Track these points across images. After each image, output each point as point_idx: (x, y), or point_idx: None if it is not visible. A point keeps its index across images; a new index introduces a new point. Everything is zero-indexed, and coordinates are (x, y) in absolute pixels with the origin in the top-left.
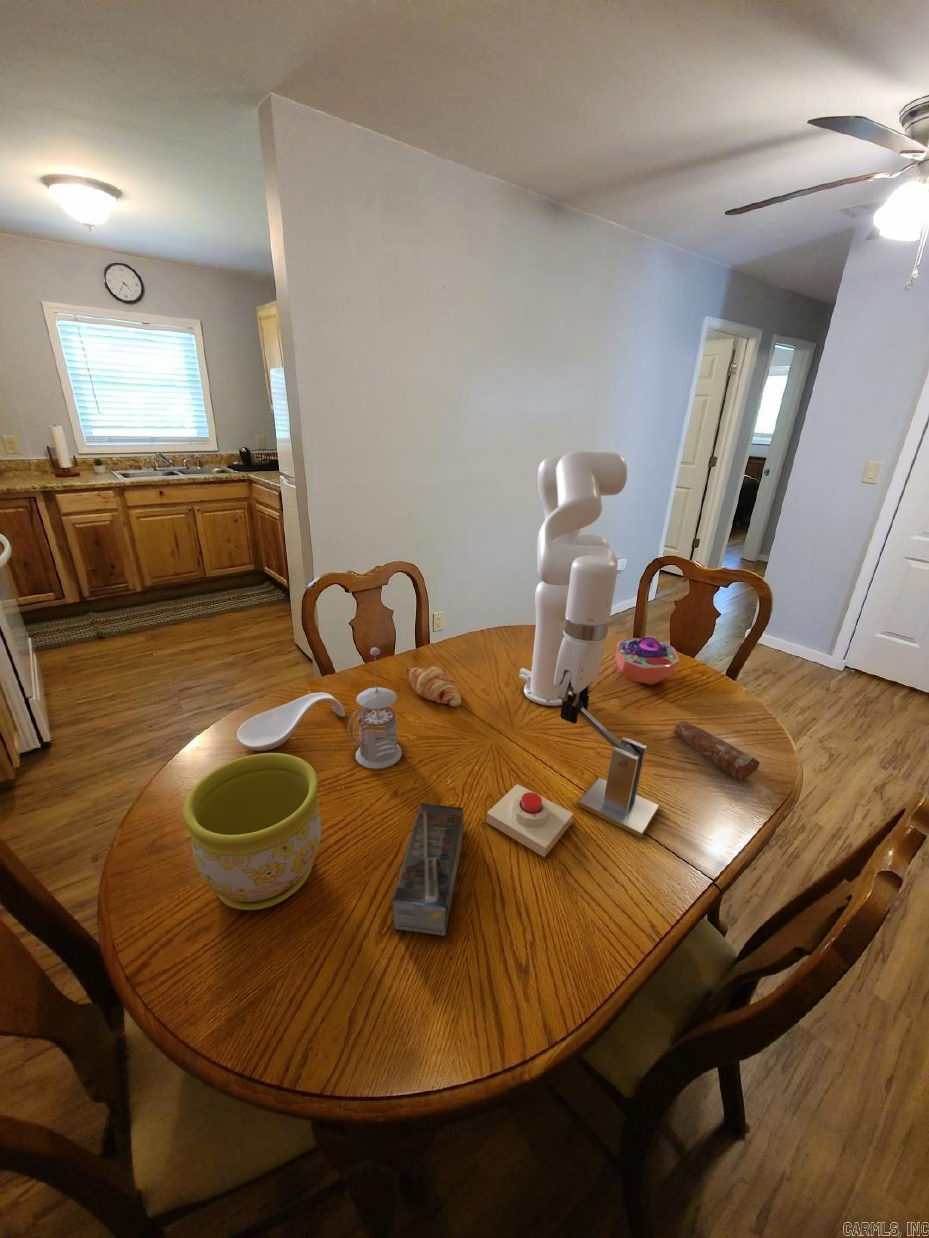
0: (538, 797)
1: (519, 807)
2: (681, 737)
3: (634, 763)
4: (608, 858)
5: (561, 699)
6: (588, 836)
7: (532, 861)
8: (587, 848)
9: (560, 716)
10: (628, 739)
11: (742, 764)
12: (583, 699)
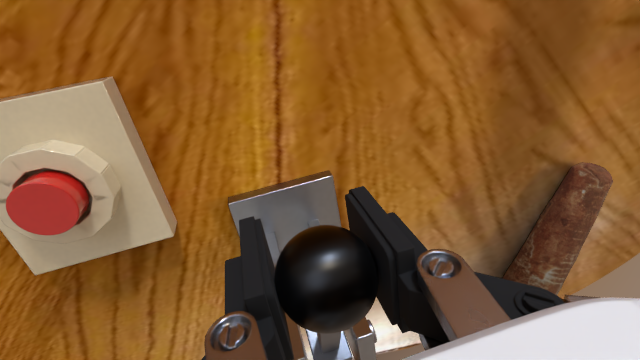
0: (69, 214)
1: (8, 190)
2: (562, 185)
3: None
4: (175, 303)
5: (205, 338)
6: (181, 258)
7: (13, 252)
8: (156, 275)
9: (239, 220)
10: (370, 347)
11: None
12: (385, 298)
